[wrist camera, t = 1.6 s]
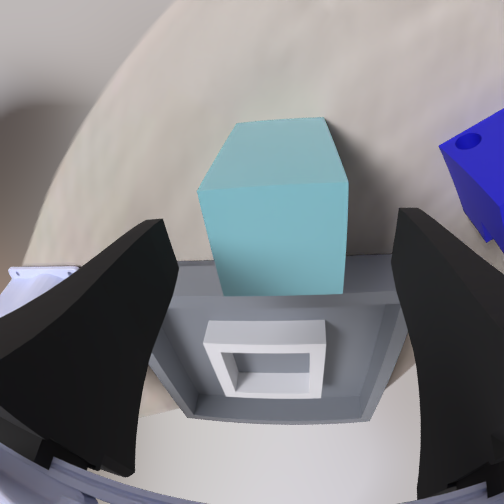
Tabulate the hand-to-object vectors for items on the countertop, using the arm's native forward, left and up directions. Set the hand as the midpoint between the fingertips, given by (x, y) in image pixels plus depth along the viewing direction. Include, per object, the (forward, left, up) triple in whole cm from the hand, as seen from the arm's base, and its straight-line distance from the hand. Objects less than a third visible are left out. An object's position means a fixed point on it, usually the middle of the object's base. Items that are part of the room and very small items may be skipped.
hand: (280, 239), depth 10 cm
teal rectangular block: (0, 0, -7) cm, 7 cm away
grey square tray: (-2, -15, -7) cm, 17 cm away
